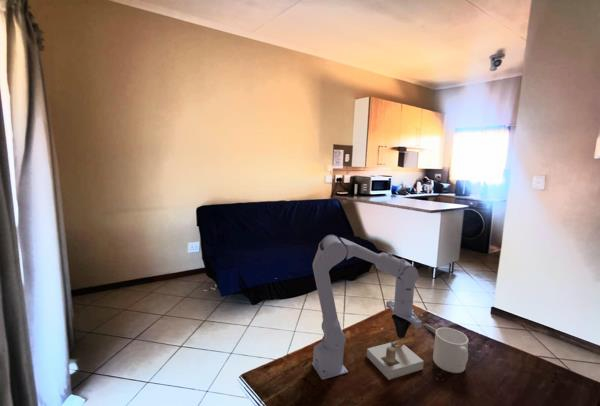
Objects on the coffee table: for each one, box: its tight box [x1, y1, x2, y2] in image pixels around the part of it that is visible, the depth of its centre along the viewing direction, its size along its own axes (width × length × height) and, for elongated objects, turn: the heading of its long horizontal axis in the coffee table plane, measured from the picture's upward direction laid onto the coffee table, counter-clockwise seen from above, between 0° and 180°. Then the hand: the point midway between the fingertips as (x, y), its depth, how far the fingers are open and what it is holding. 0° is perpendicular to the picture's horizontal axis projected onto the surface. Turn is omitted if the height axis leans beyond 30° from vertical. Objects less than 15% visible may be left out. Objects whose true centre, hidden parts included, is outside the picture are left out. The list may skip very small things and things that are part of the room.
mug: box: [432, 327, 469, 374], centre depth 100 cm, size 13×10×10 cm
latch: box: [394, 336, 415, 345], centre depth 103 cm, size 2×8×1 cm
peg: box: [385, 347, 396, 366], centre depth 98 cm, size 3×3×7 cm
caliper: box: [422, 323, 438, 334], centre depth 116 cm, size 20×1×6 cm, turn 10°
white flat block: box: [366, 339, 425, 381], centre depth 101 cm, size 14×12×4 cm
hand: (401, 336), depth 98 cm, fingers closed
